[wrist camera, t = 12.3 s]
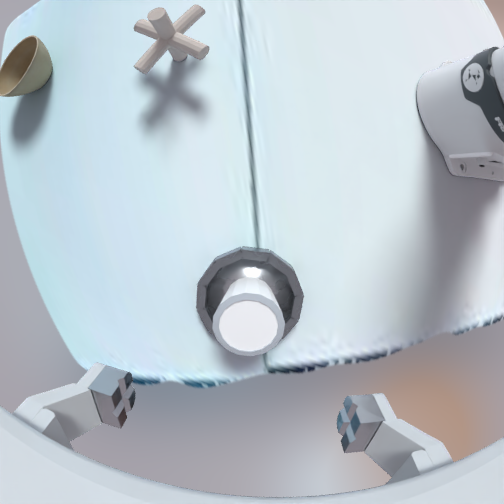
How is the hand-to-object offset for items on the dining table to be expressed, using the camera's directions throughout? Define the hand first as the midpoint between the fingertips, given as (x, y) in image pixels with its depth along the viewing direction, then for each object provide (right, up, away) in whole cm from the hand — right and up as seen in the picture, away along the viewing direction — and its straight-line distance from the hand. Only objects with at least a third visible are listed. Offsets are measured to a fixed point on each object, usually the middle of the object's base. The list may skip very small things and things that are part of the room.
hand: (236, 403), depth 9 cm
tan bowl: (-33, +34, +17) cm, 50 cm away
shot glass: (0, 0, +23) cm, 23 cm away
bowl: (0, 0, +23) cm, 23 cm away
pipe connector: (-8, +30, +17) cm, 36 cm away
